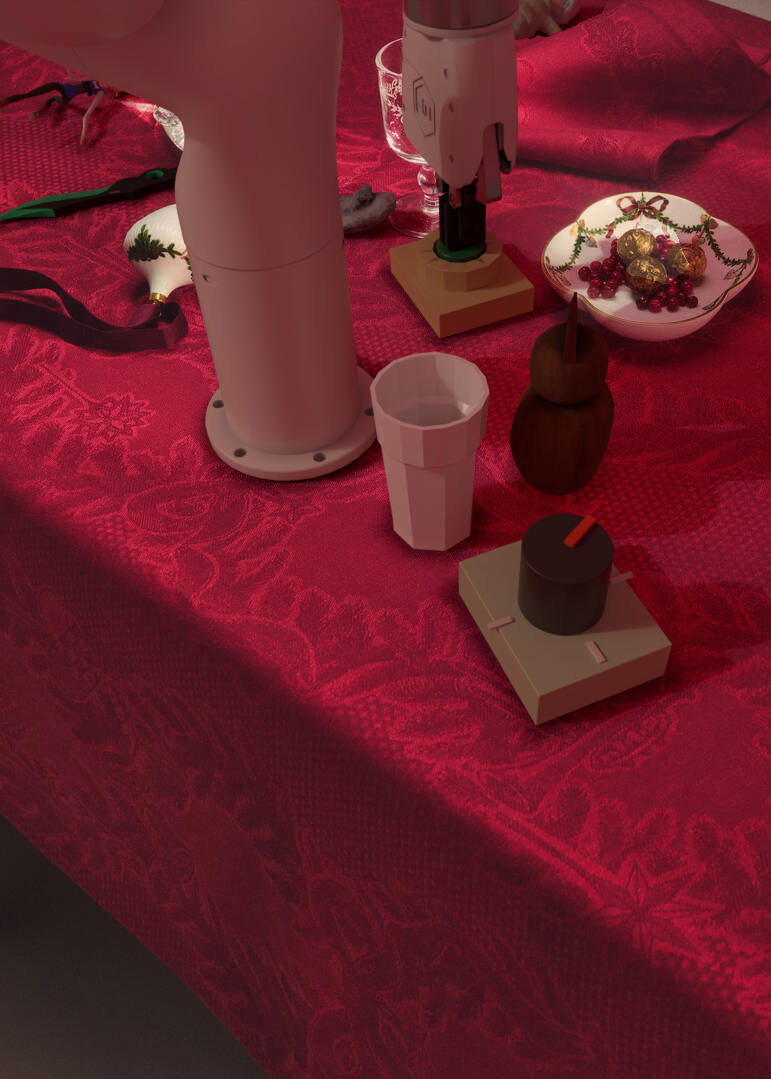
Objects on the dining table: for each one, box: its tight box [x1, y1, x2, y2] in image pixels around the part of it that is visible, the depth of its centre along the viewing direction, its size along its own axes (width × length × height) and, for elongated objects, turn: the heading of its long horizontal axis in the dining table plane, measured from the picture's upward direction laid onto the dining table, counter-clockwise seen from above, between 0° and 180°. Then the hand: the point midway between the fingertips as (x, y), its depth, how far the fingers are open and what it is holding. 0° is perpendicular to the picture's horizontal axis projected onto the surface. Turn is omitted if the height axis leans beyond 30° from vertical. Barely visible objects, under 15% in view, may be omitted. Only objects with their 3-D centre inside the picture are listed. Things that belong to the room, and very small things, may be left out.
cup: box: [370, 351, 490, 552], centre depth 60 cm, size 7×7×11 cm
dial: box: [518, 513, 615, 635], centre depth 54 cm, size 5×5×5 cm
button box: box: [389, 227, 536, 339], centre depth 79 cm, size 10×8×4 cm
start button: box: [437, 240, 483, 263], centre depth 78 cm, size 4×4×2 cm
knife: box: [0, 164, 179, 222], centre depth 93 cm, size 23×1×5 cm
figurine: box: [0, 68, 123, 146], centre depth 101 cm, size 10×9×20 cm
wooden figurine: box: [509, 291, 615, 496], centre depth 60 cm, size 7×6×15 cm
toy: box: [512, 0, 583, 40], centre depth 109 cm, size 11×5×15 cm
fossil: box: [340, 184, 398, 235], centre depth 86 cm, size 8×4×5 cm
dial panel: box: [458, 539, 673, 726], centre depth 57 cm, size 10×9×3 cm
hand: (462, 242), depth 77 cm, fingers closed
